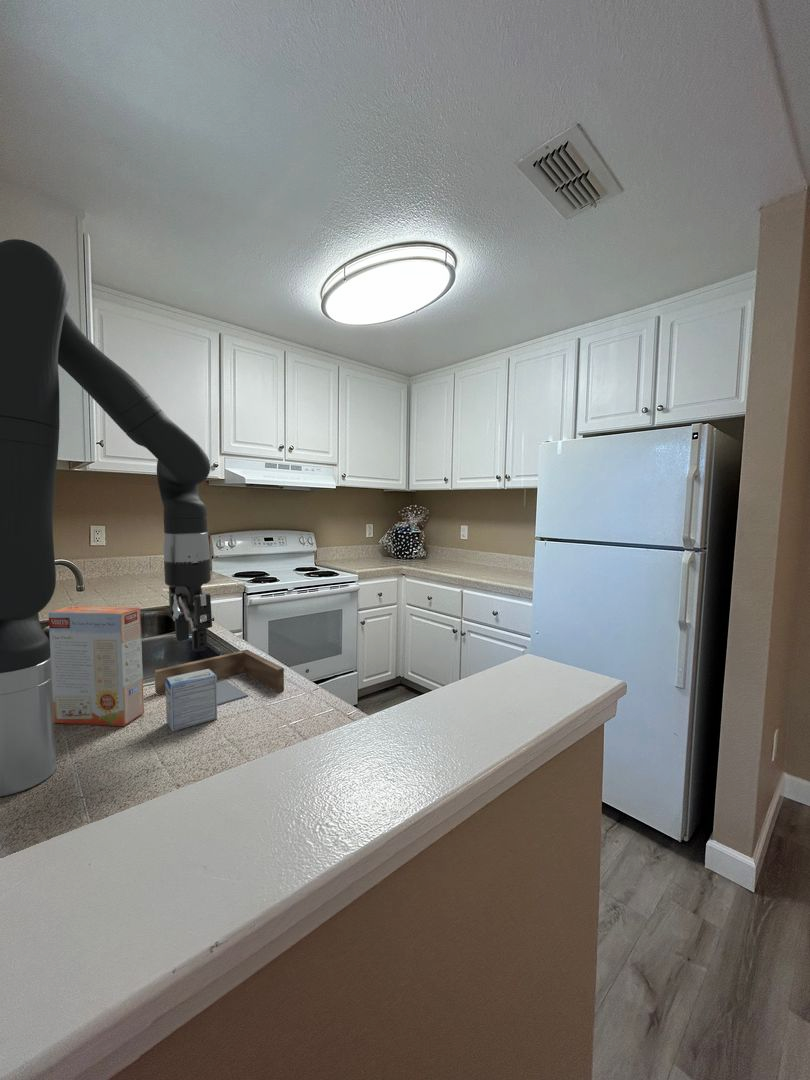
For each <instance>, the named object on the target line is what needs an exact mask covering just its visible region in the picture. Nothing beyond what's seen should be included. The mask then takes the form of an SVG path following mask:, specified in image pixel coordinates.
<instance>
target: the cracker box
mask: <svg viewBox="0 0 810 1080" xmlns="http://www.w3.org/2000/svg"><path fill="white" fill-rule="evenodd" d="M141 619H142V618H141V607H140V606H139V607H135V606H133V607H132V606H97V605H96V606H94V605H93V606H91V605H88V606H87V605H72V606H71V605H70V606H65V607H63V608H59V609H56V610H55V609H53V610H51V611H49V612H48V629H49V634H48V635H49V641H50V652H51V670H52V691H53V711H54V724H70V725H71V724H72V725H93V726H94V725H95V726H110V727H111V726H114V727H125V726H126V725H128V724H129V723H131V722H132V721H135V719H137V718H139V717H140V716H141V715H143V714H144V713H145V703H144V698H145V697H144V673H143V648H142V647H143V646H142V645H143V644H142V622H141Z"/></svg>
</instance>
